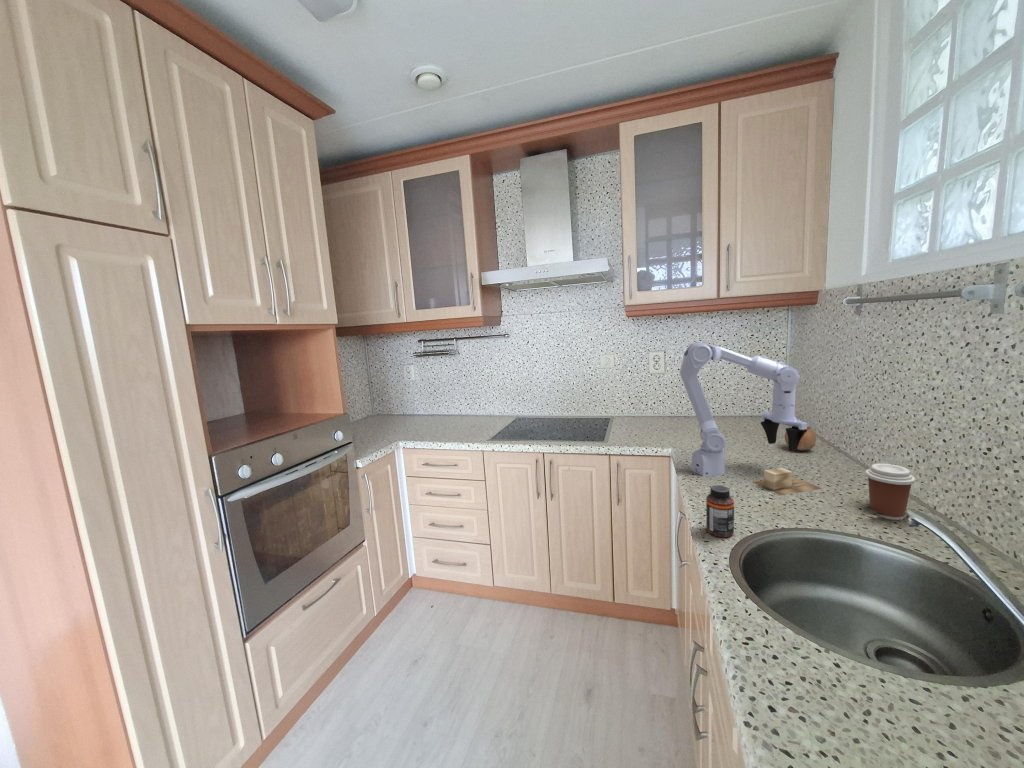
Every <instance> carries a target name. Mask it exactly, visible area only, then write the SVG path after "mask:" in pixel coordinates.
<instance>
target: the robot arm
mask: <svg viewBox="0 0 1024 768" xmlns="http://www.w3.org/2000/svg"><path fill="white" fill-rule="evenodd" d="M719 360H724V361H727V362H731V363H733V364H736V365H740V366H743V367H745V368H746V370H747V372H748V373H749V374H753V375H755V376H758V377H760V378H763V379H766V380H769V381H773V389H772V409H771V410H772V412H771V413H769V412H765V413H761V419H760V420H761V421H760V425H761V426H762V429H763V431H764V434H765V436H766V439H767V442H768V443H767V444H769V445H772V444H776V442H777V436H778V431H779V430H778V429H779V426H780V425H784V426H788V427H785V433H786V432H787V435H788V444H787V447H788V450H789V451H791V452H792V451H798V450H797V447H798V444H799V442H800V440H801V438H802V437H803V435H804V434H805V433H806V432H807V427H808V422H805V421H803V420H800V419H798V418H797V417H796V416H795V413H796V393H797V392H796V390H797V389H796V386H797V383H799V381H800V379H801V375H800V373H799V371H798V370H797V368H795V367H793V366H790V365H787V364H785V363H784V362H782V361H775V360H772V359H768V356H766V355H763V354H761V355H755V356H752V357H749V356H747V355H743V354H741V353H738V352H737V351H733V350H730V349H727V348H725V347H721V346H717V345H713V344H705V343H703V342H699V341H698V342H692V343H691V344H690V345H689V346H688V347H687V348H686V350H685V352H684V353H683V358H682V362H681V365H680V369H679V376H680V377H681V380H682V383H683V386H684V389H685V390H686V393H687V396H688V399H689V400H690V404H691V406H692V409H693V411H694V414H695V416H696V419H697V421H698V425H699V428H700V432H699V433H700V434H699V436H700V439H701V440H702V441H703V442H702V443H701V445H700V447H699V448H698V450H694V451H693V452H692V455H691V470H692V471H693V472H694V473H696V474H697V475H700V476H701V477H710V476H721V475H725V474H726V445H727V439H726V437H725V436H724V435H723V433H721V430H720V429H719V428H718V427H719V426H718V425H717V423H716V422H715V418H714V417H713V414H712V411H711V409H710V406H709V403H708V401H707V398H706V396H705V393H704V391H703V388H702V386H701V382H700V380H699V377H698V374H699V373H700V371H701V369H702V367H704V366H705V365H706V364H707V363H709V361H713V362H714V361H719ZM762 420H763V421H762Z"/></svg>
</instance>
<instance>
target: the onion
mask: <svg viewBox="0 0 1024 768" xmlns="http://www.w3.org/2000/svg"><path fill="white" fill-rule="evenodd" d="M784 440H785V443H786V444H787V445H788V435H787V432H786V431H785V434H784ZM816 442H817V435H816V433H815V432H814V431H813V430H812V429H811V427H809V426H807V432H806V433H805V434H804V435H803V437H802V438H801V440H800V442H799V444H798V447H797V450H796V451H802V452H803V451H808V450H811V449H813V448H814V447H815V446H816Z"/></svg>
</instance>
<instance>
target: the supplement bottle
mask: <svg viewBox="0 0 1024 768" xmlns="http://www.w3.org/2000/svg"><path fill="white" fill-rule="evenodd" d="M709 492H710V493H708V494H707V495H706V502H705V505H706V507H705V508H706V512H705V513H706V516H705V518H706V520H705V521H706V523H705V524H706V531H707V532H708V533H709V534H711V535H713V536H715V537H718V538H723V539H724V538H729V537H732V536H733V535H734V532H735V501H734V498H733V497H732V496H730V488H729V487H727V486H725V485H718V484H715V485H711V487H710V491H709Z"/></svg>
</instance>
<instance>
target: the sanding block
mask: <svg viewBox="0 0 1024 768" xmlns="http://www.w3.org/2000/svg"><path fill="white" fill-rule="evenodd" d="M792 476H793V471H791V470H788V469H787V468H784V467H777V468H770V469H764V471H763V480H764V487H766V488H768V489H770V490H772V491H778V490H784V489H791V488H792ZM764 487H763V488H764ZM766 488H765V489H766ZM768 489H767V490H768ZM770 490H769V491H770ZM772 491H771V492H772Z"/></svg>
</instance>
